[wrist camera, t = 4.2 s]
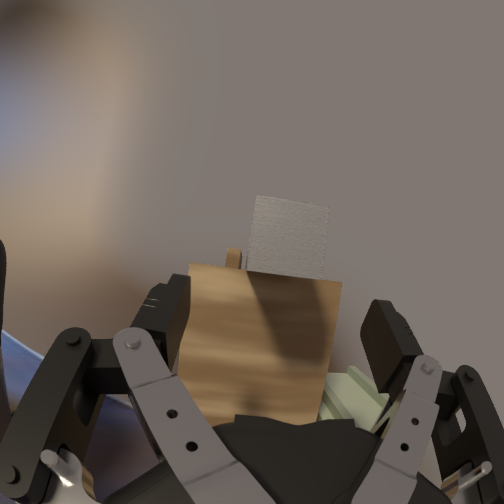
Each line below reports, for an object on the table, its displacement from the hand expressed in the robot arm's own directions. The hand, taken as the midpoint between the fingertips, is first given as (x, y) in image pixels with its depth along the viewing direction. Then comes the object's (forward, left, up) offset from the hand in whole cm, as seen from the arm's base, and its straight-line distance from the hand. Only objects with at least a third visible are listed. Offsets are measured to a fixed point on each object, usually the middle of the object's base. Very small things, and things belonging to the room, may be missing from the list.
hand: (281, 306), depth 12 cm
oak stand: (-14, +10, -33) cm, 37 cm away
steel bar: (-10, +8, +1) cm, 13 cm away
